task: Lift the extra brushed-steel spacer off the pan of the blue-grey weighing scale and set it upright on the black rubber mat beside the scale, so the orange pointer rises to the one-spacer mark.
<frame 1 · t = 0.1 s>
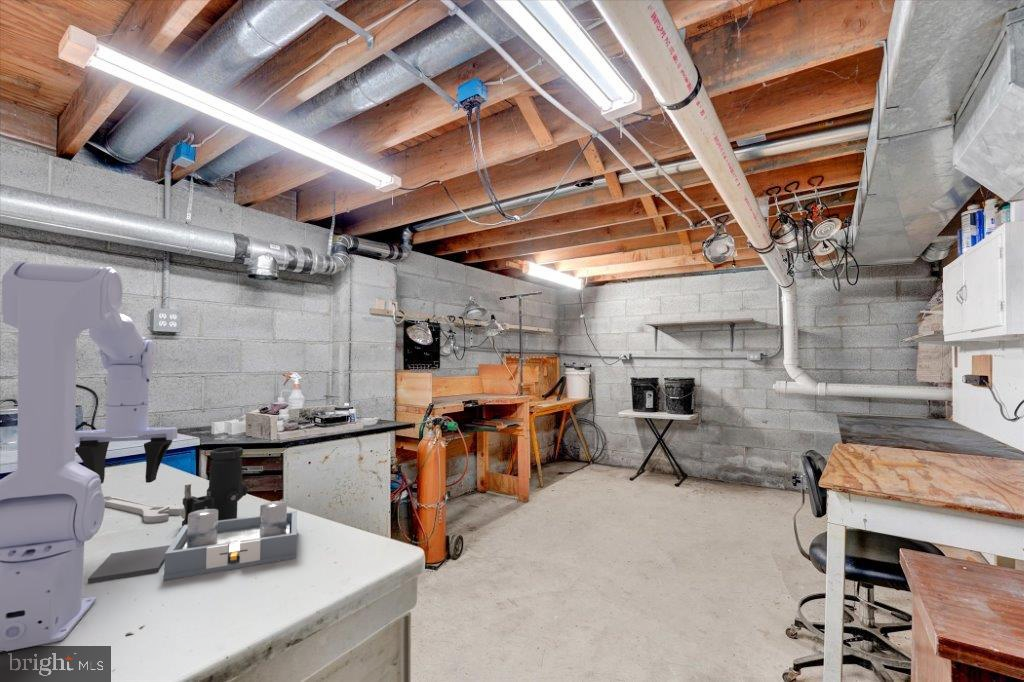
hand: (124, 482, 79), 10 cm above the workbench, fingers open, 7 cm apart
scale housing: (238, 551, 74), on the workbench
rubber mat: (133, 564, 69), on the workbench
steel spacer 1: (202, 544, 72), point 2 cm above the workbench, touching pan
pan: (238, 543, 73), point 2 cm above the workbench, slide at 1.8 cm, touching steel spacer 1, steel spacer 2
steel spacer 2: (273, 534, 76), point 2 cm above the workbench, touching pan
scope: (218, 524, 87), on the workbench
adjustable wrench: (139, 511, 94), on the workbench
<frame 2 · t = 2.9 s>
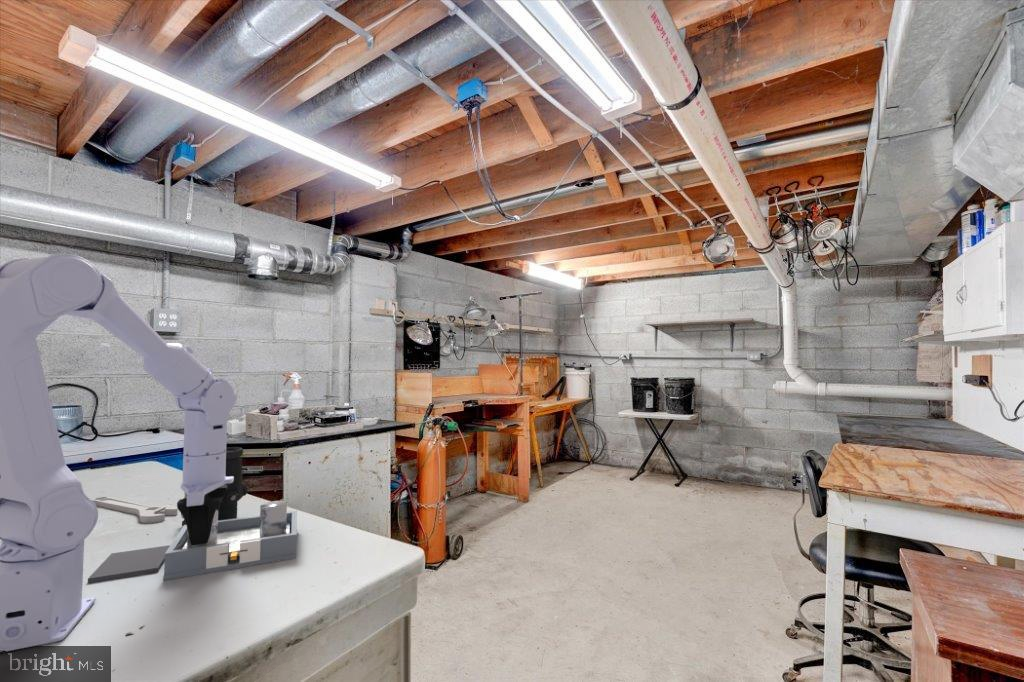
hand: (202, 538, 72), 3 cm above the workbench, fingers closed on steel spacer 1, 4 cm apart
steel spacer 1: (202, 544, 72), point 2 cm above the workbench, touching gripper, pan
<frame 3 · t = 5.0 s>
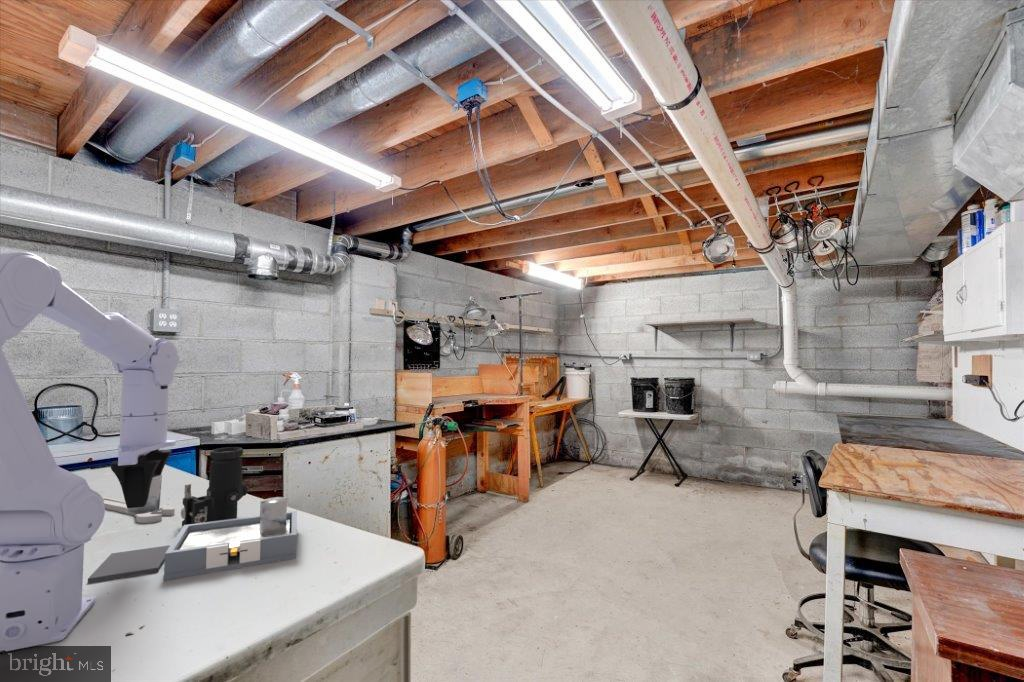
hand: (141, 502, 70), 9 cm above the workbench, fingers closed on steel spacer 1, 4 cm apart
steel spacer 1: (143, 509, 70), point 8 cm above the workbench, touching gripper
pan: (238, 539, 73), point 2 cm above the workbench, slide at 1.1 cm, touching steel spacer 2
when the fingers open (3 cm above the workbench, at t = 7.1 s): steel spacer 1 drops 1 cm, resting on rubber mat.
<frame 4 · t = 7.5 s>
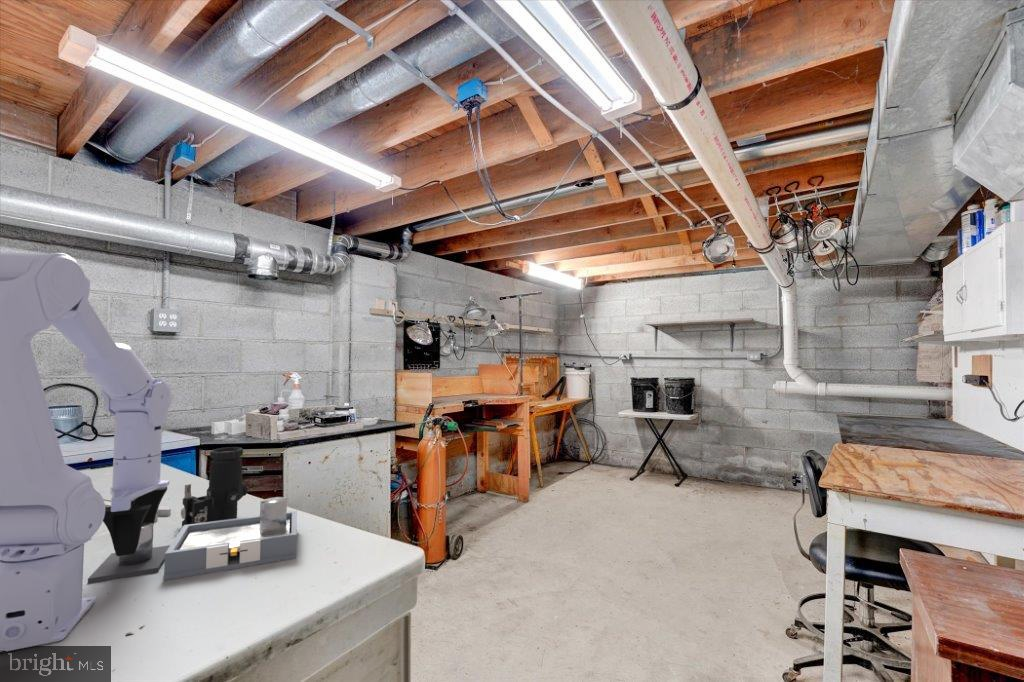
hand: (134, 544, 70), 3 cm above the workbench, fingers open, 7 cm apart
steel spacer 1: (135, 559, 70), point 1 cm above the workbench, touching rubber mat
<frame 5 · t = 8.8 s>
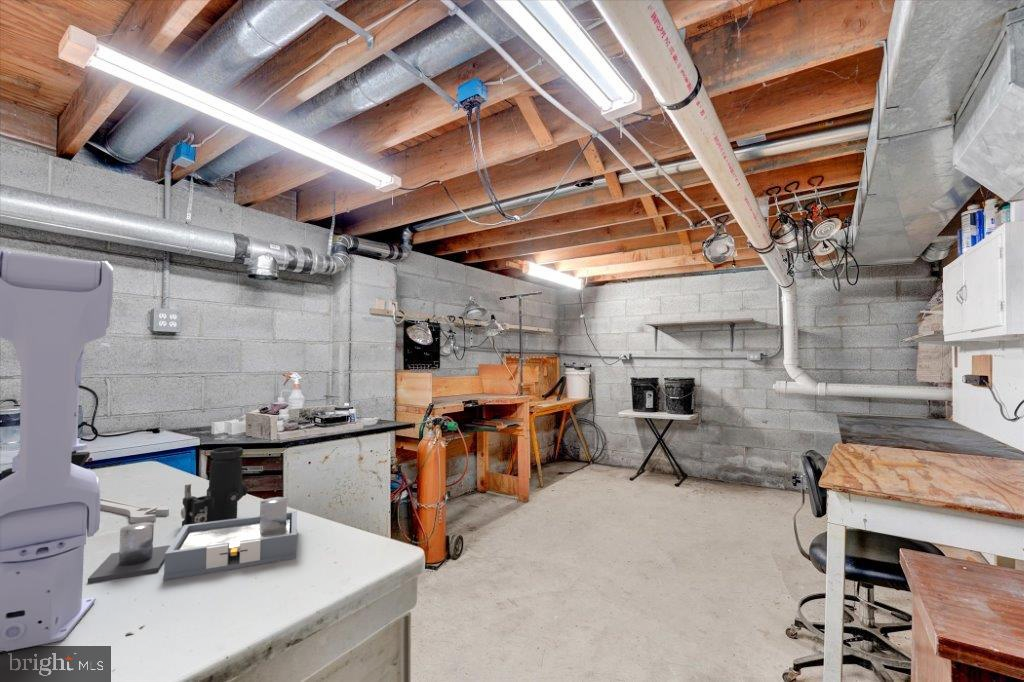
hand: (47, 509, 66), 9 cm above the workbench, fingers open, 7 cm apart
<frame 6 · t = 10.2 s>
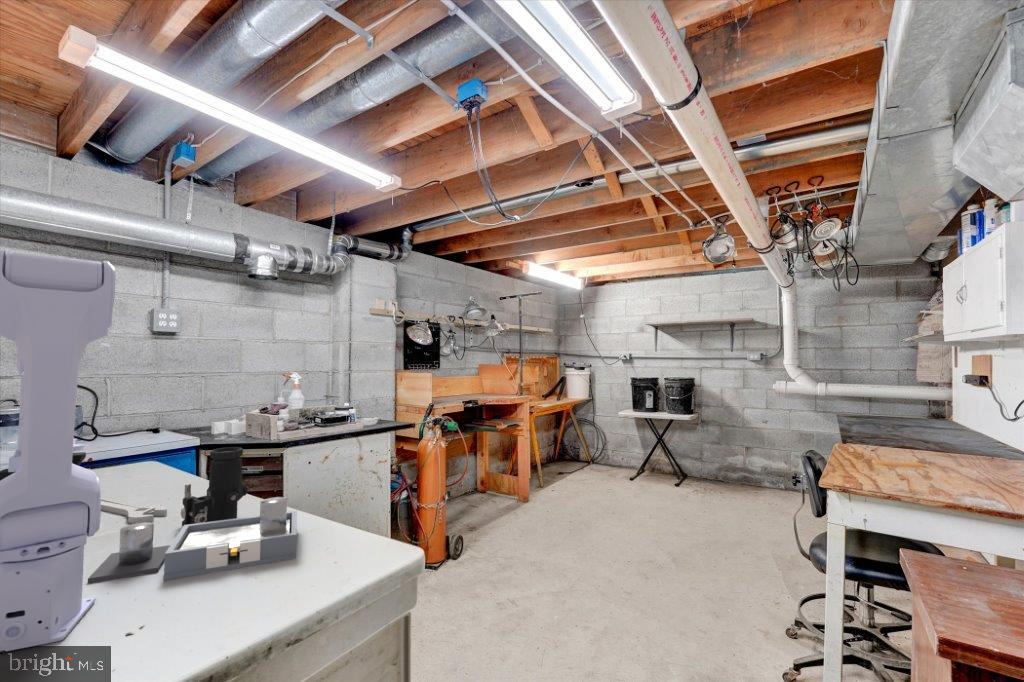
hand: (43, 510, 66), 9 cm above the workbench, fingers open, 7 cm apart
at the end: steel spacer 1 inside the target area (0.2 cm from its centre), point 0.6 cm above the workbench; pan slide at 1.1 cm; steel spacer 2 touching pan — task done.
